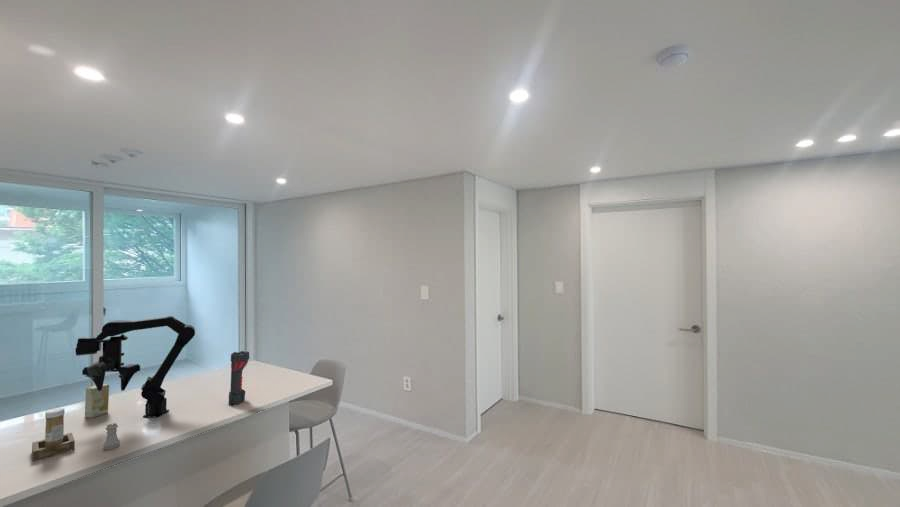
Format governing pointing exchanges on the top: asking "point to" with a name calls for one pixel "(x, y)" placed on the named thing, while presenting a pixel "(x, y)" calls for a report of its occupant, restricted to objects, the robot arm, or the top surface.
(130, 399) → the top surface
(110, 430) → the rook chess piece
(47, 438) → the sprinkles bottle
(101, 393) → the skincare box
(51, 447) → the walnut holder
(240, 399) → the flashlight
